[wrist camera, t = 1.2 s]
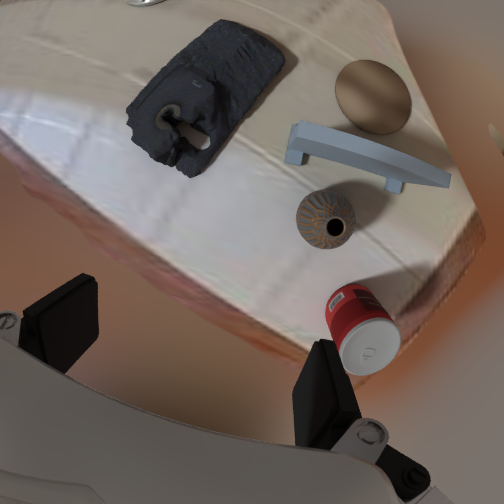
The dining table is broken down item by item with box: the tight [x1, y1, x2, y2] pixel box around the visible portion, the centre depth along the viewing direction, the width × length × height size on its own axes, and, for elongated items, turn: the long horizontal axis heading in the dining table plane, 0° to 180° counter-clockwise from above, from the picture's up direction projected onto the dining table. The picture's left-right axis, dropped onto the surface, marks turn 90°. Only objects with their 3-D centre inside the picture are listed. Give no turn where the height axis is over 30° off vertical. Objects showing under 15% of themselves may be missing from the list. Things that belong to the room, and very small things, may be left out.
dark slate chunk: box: [126, 19, 286, 178], centre depth 29 cm, size 15×22×5 cm
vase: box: [296, 190, 355, 249], centre depth 31 cm, size 7×7×9 cm
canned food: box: [325, 284, 401, 375], centre depth 33 cm, size 8×8×11 cm
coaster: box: [335, 60, 410, 134], centre depth 30 cm, size 11×11×1 cm
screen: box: [284, 120, 451, 195], centre depth 27 cm, size 5×16×12 cm, turn 79°
